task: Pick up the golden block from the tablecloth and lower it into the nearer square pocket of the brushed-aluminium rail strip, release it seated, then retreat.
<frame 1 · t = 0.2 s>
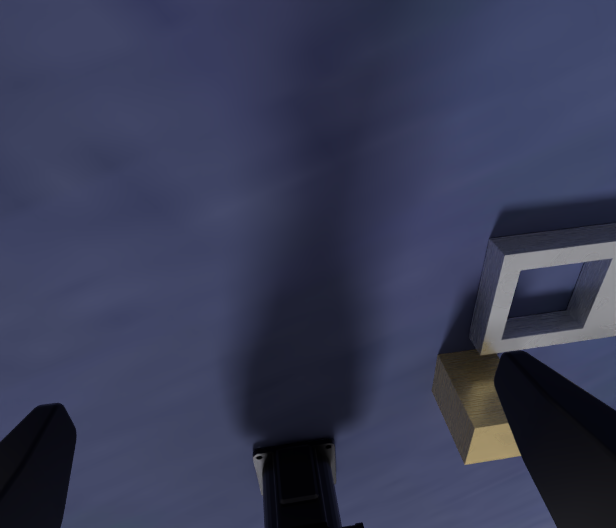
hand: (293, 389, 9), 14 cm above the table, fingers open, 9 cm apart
rail: (610, 273, 29), on the table
golden block: (460, 369, 32), on the table
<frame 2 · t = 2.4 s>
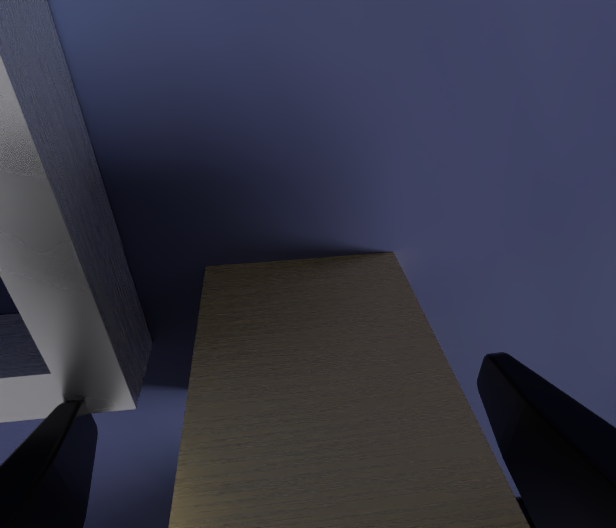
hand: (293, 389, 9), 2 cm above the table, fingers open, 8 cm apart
golden block: (303, 328, 10), on the table
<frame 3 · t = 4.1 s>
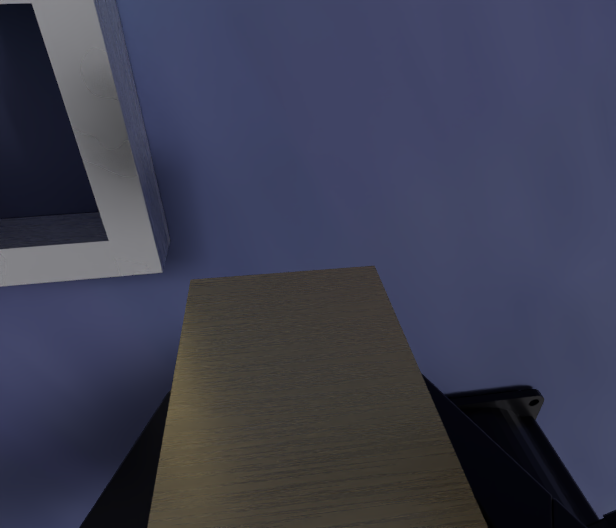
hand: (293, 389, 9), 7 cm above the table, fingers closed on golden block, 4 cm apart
golden block: (287, 339, 11), point 5 cm above the table, touching gripper
when the fingers open (2 cm above the table, at t = 7.3 s): golden block stays where it is, resting in rail.
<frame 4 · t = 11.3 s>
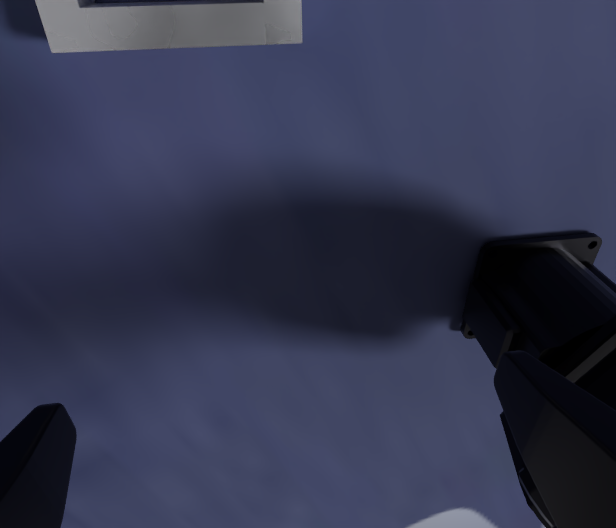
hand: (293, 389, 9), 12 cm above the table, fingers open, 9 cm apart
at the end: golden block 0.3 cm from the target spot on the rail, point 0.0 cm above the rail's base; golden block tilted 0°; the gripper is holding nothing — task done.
